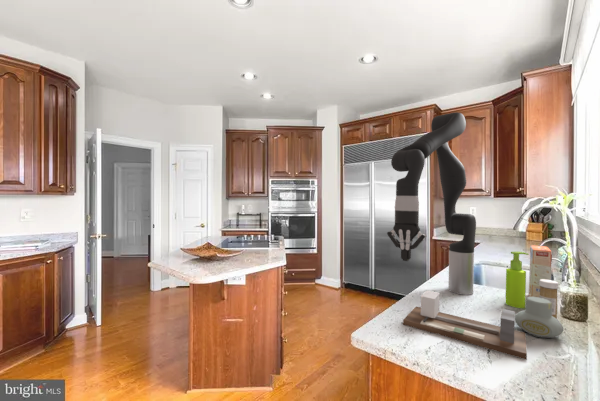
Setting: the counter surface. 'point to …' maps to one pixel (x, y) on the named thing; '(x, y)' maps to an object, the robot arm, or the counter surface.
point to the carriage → (430, 304)
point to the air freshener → (539, 319)
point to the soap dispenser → (516, 282)
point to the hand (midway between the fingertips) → (405, 260)
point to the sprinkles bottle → (549, 293)
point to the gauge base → (474, 331)
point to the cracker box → (539, 268)
